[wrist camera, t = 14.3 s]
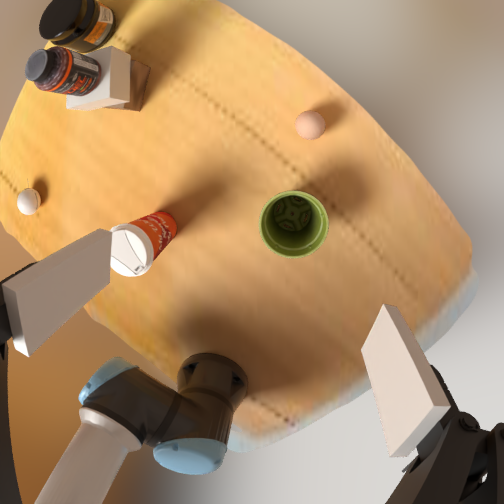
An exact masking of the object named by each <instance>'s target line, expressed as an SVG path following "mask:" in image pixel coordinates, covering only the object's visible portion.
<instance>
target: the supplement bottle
mask: <svg viewBox="0 0 504 504" xmlns="http://www.w3.org/2000/svg"><path fill="white" fill-rule="evenodd" d="M25 75H26V78H27V79H28V80H30V81H34V83H35V85H36V87H37V88H39V89H40V90H43V91H49V92H55V93H61V94H67V95H73V96H85V95H87V94H89V93H90V92H92V91H93V90H94V89H95V88H96V86H97V85H98V83H99V81H100V78H101V66H100V64H99V62H98V61H97V60H95V59H93V58H91V57H88V56H86V55H83V54H80V53H78V52H75V51H72V50H69V49H67V48H64V47H60V46H55V47H51V48H49V49H48V50H44V49H39V50H37V51H35V52H34V53H33V54H32V55H31V56H30V58H29V60H28V61H27V64H26V68H25Z"/></svg>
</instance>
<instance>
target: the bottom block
mask: <svg viewBox="0 0 504 504" xmlns="http://www.w3.org/2000/svg"><path fill="white" fill-rule="evenodd" d="M149 72H150V67H148V66H146V65H144V64H142V63H140V62H138V61H136V60H131V62H130V102H126V103H121V104H116V105H111V106H107V107H102V108H112V109H123V110H132V111H140V109H141V104H142V100H143V96H144V92H145V88H146V84H147V80H148V76H149Z"/></svg>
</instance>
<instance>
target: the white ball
mask: <svg viewBox="0 0 504 504" xmlns="http://www.w3.org/2000/svg"><path fill="white" fill-rule="evenodd" d="M27 180H28V178H27ZM28 187H29V185H28ZM40 203H41V199H40V195H39V193H38V192H37V191H36V190H34V189H32V188H26V189H25V190H23V191H22V192H21V193H20V195H19V196H18V200H17V205H18V208H19V210H20V211H21V212H22V213H23V214H26V215H31V214H33V213H35V212H36V211H37V210H38V209H39V207H40Z"/></svg>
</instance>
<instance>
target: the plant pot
mask: <svg viewBox="0 0 504 504" xmlns="http://www.w3.org/2000/svg"><path fill="white" fill-rule="evenodd" d="M293 198H298V199H300V200H301V201H302V202H299V201H297V200H294V199H293ZM278 205H281V206H280V208H279V211H278V212H277V208H278ZM291 212H294V215H291ZM306 214H307V215H308V217H307V220H306V222H304V219H305V217H306ZM284 224H285V225H287V226H290V227H291V228H287V227H285V226H284ZM328 229H329V220H328V215H327V212H326V210H325V208H324V206H323V205H322V203H321V202H320V201H319V200H318V199H317V198H315V197H314V196H312V195H310V194H308V193H306V192H302V191H285V192H282V193H279V194H277V195H275V196H274V197H272V198H271V199H270V200H269V201H268V202H267V203H266V204H265V206H264V207H263V209H262V211H261V214H260V217H259V231H260V235H261V238H262V240H263V242H264V243H265V245H266V246H267V247H268V248H269V249H270V250H271V251H272V252H274V253H275V254H277V255H279V256H282V257H285V258H302V257H305V256H308V255H310V254H312V253H314V252H315V251H316V250H317V249H318V248H319V247H320V246H321V245H322V244H323V242H324V241H325V239H326V236H327V234H328Z"/></svg>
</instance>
